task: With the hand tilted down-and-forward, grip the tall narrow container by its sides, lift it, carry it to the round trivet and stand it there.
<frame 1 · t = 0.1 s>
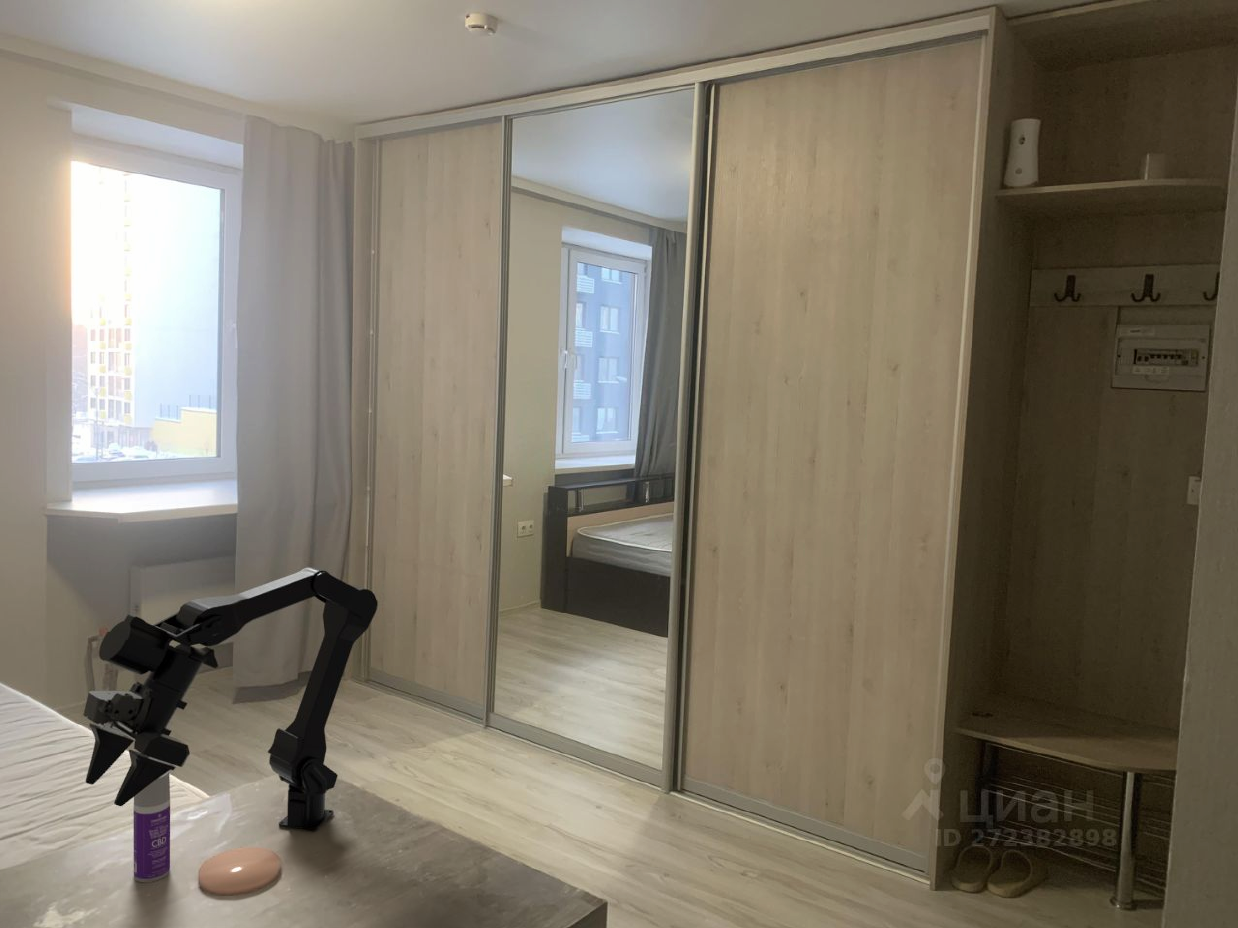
hand: (102, 793, 123), 15 cm above the table, tool tilted 35°, fingers open, 9 cm apart
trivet: (239, 873, 132), on the table
container: (151, 874, 131), on the table
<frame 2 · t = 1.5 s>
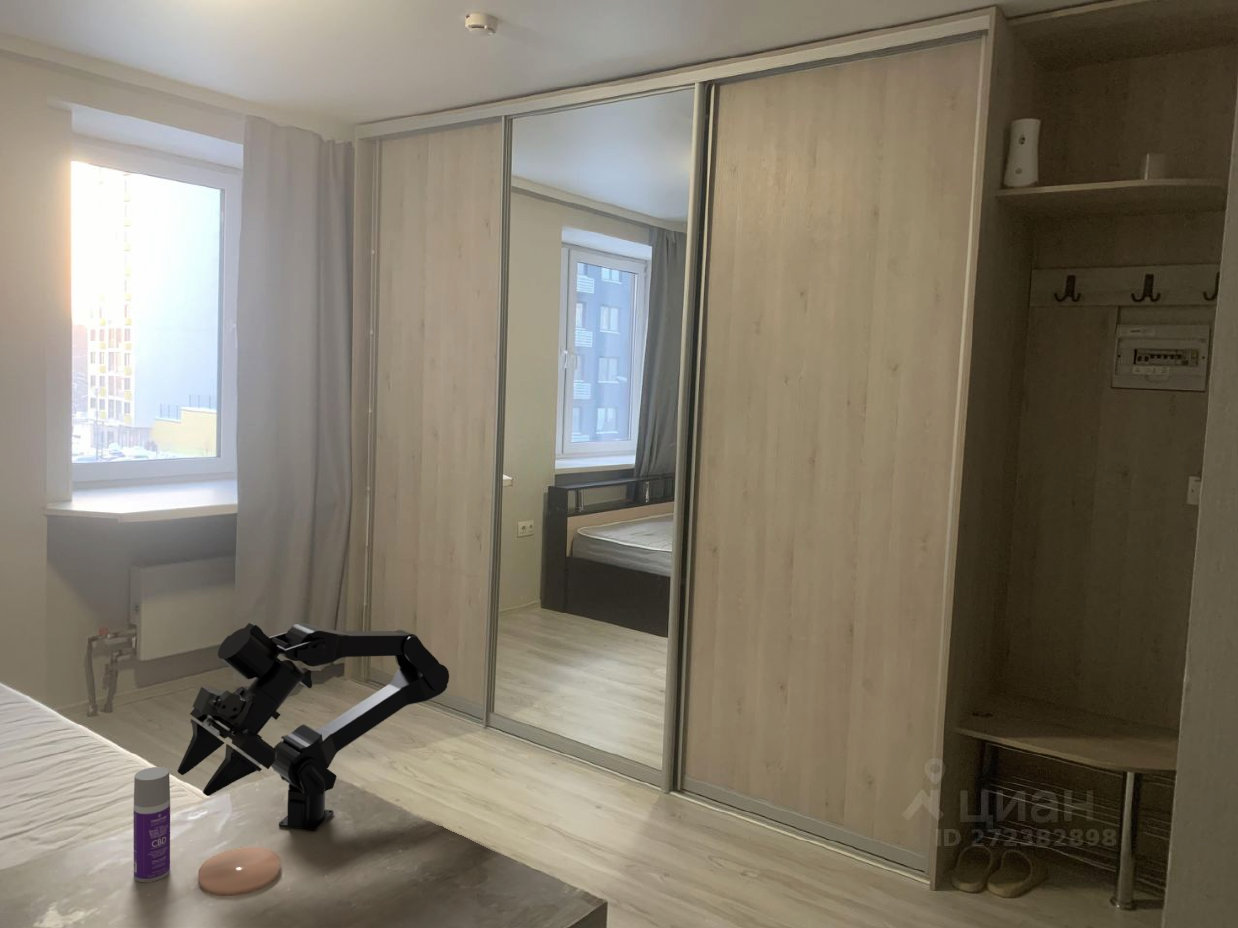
hand: (192, 783, 134), 12 cm above the table, tool tilted 45°, fingers open, 9 cm apart
nothing on the table moved.
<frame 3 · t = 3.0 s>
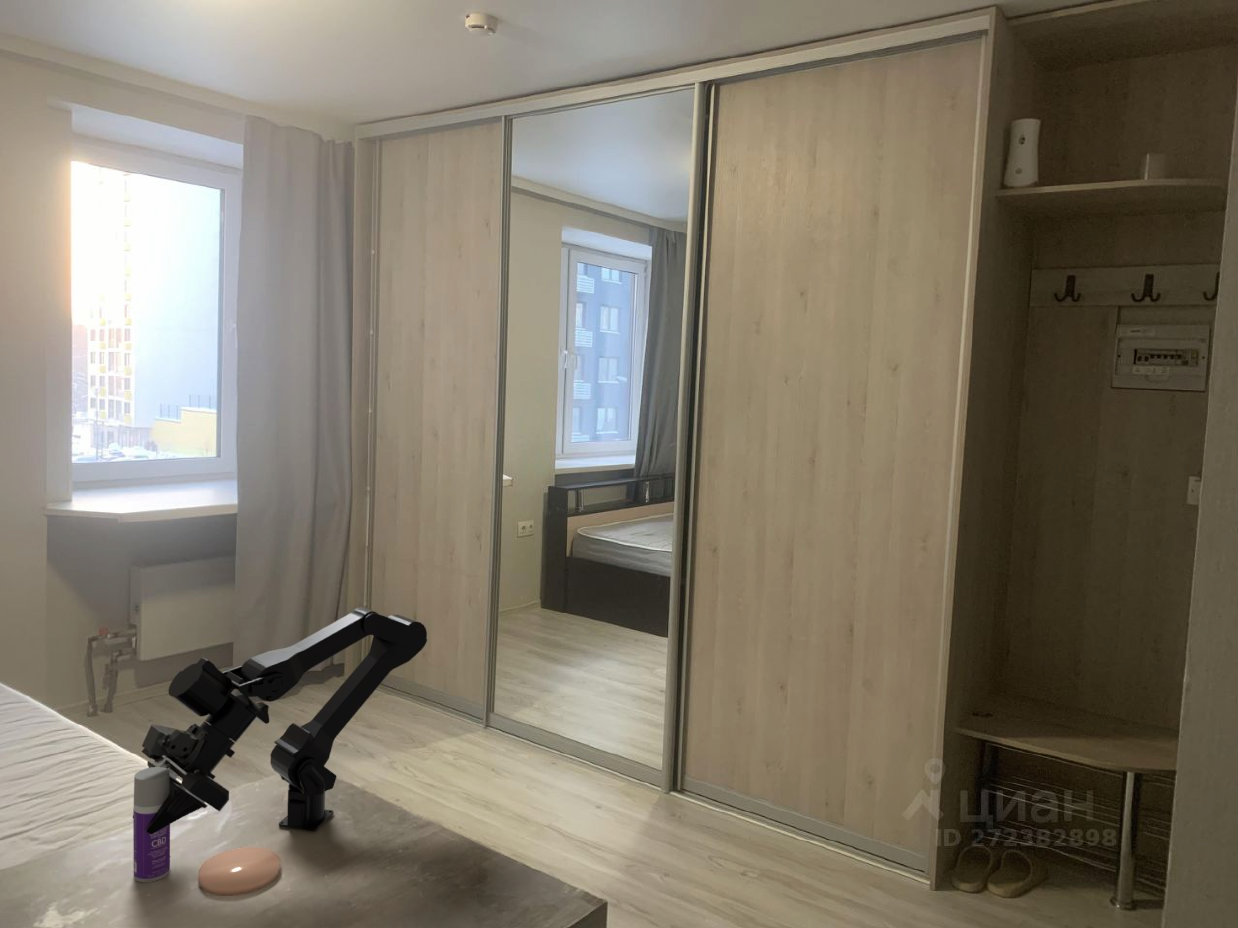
hand: (141, 825, 129), 8 cm above the table, tool tilted 45°, fingers closed on container, 5 cm apart
container: (151, 874, 131), on the table, touching gripper
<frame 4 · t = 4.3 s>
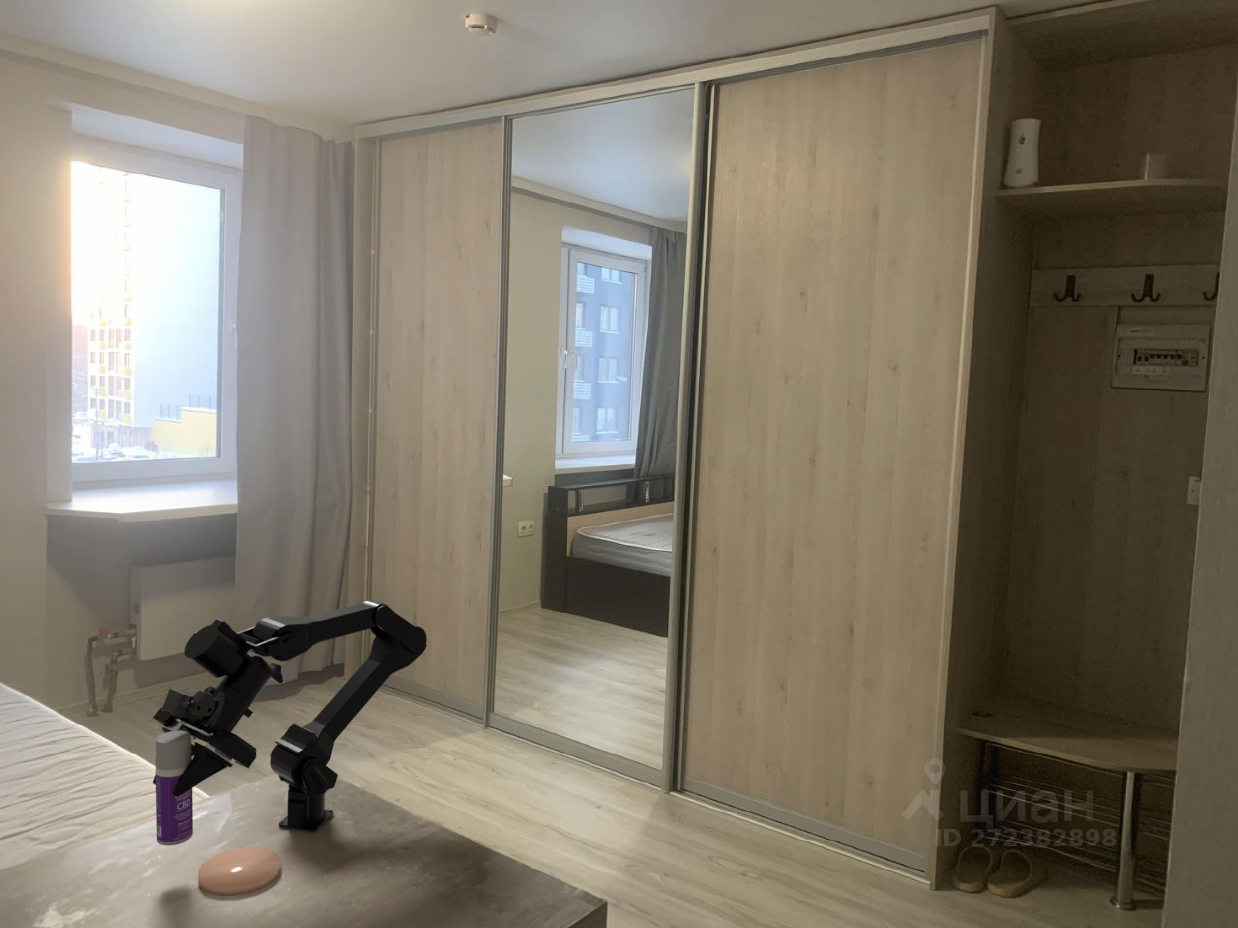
hand: (164, 789, 128), 13 cm above the table, tool tilted 45°, fingers closed on container, 5 cm apart
container: (175, 838, 130), point 6 cm above the table, touching gripper
when the fingers open (10 cm above the table, at t = 6.0 s): container stays where it is, resting on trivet.
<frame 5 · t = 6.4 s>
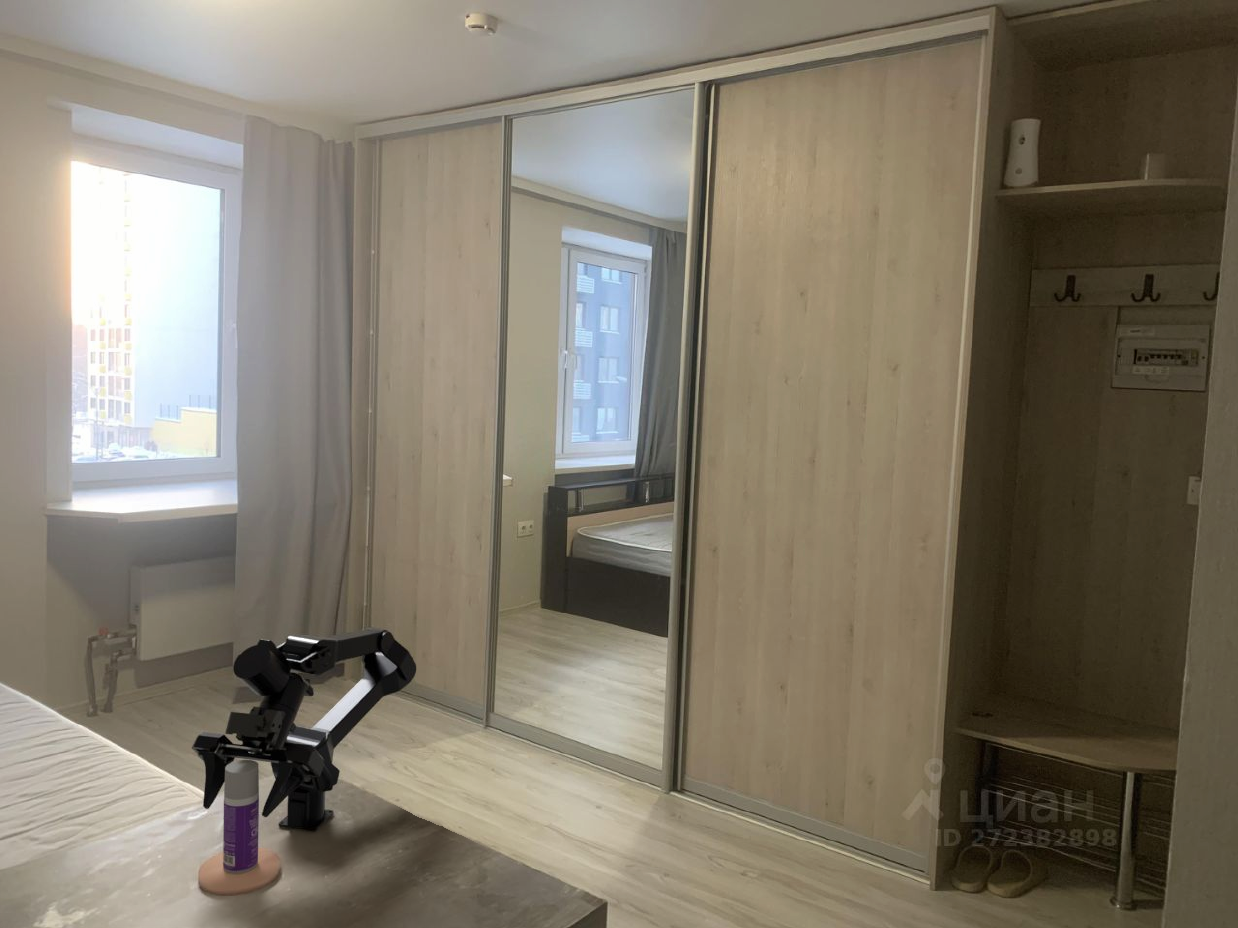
hand: (234, 811, 129), 10 cm above the table, tool tilted 45°, fingers open, 9 cm apart
container: (240, 866, 132), point 1 cm above the table, touching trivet
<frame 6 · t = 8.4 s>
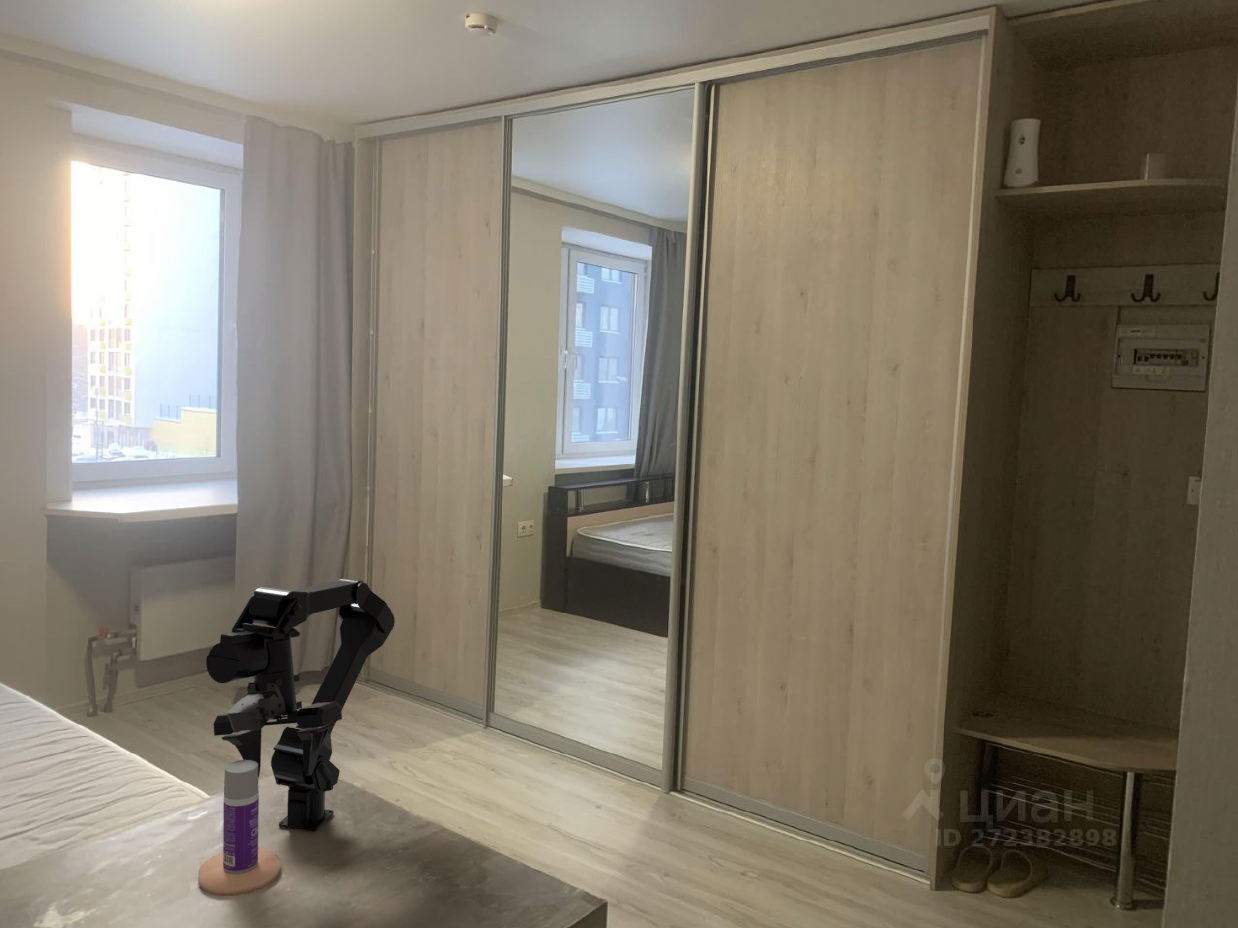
hand: (282, 776, 136), 13 cm above the table, tool pointing down, fingers open, 9 cm apart
nothing on the table moved.
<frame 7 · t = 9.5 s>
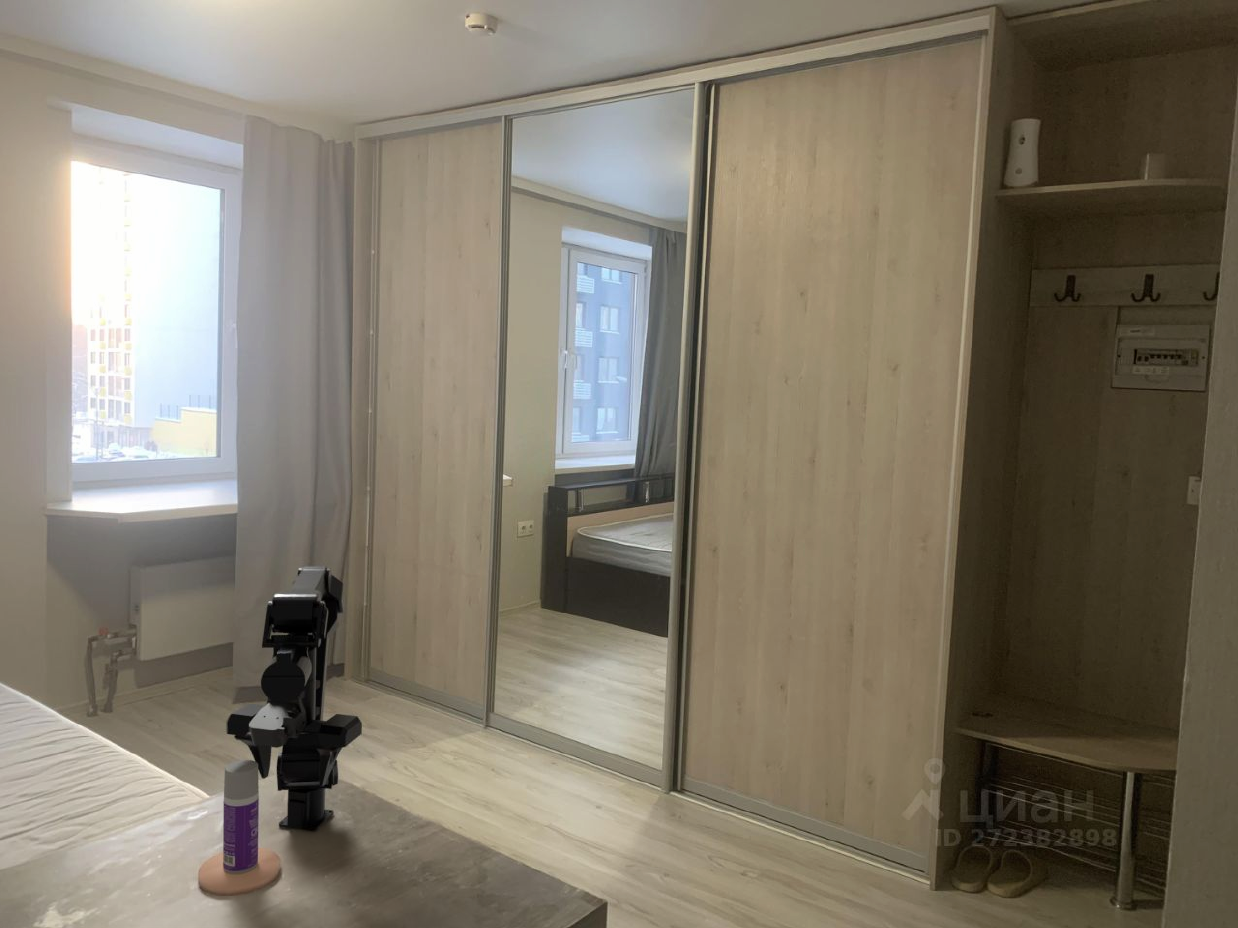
hand: (293, 781, 133), 13 cm above the table, tool pointing down, fingers open, 9 cm apart
container: (240, 866, 132), point 1 cm above the table, touching gripper, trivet
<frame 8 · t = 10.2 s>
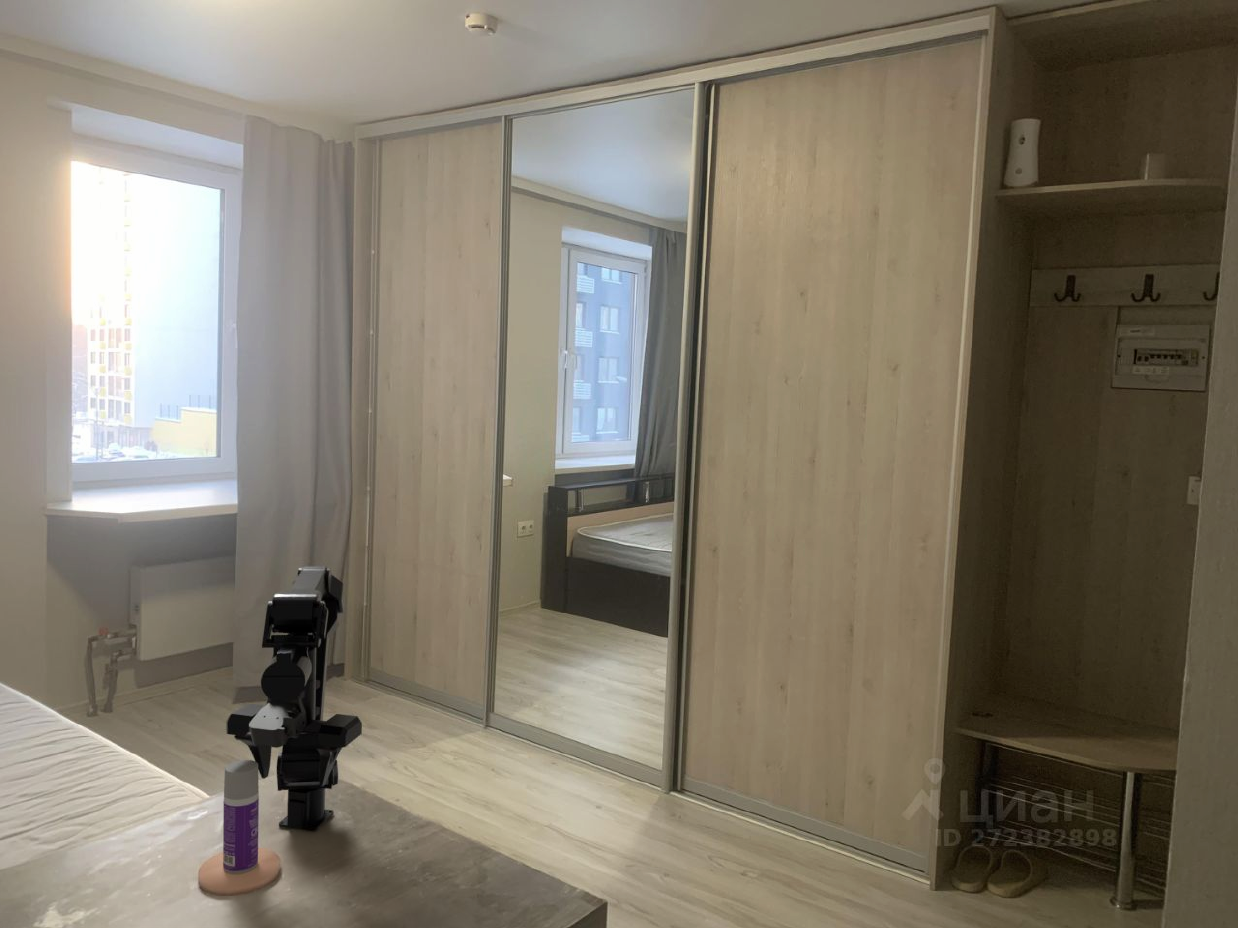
hand: (293, 781, 133), 13 cm above the table, tool pointing down, fingers open, 9 cm apart
nothing on the table moved.
at the end: container inside the target area on the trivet (0.2 cm from its centre), point 1.0 cm above the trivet's base; container tilted 0°; the gripper is holding nothing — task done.
